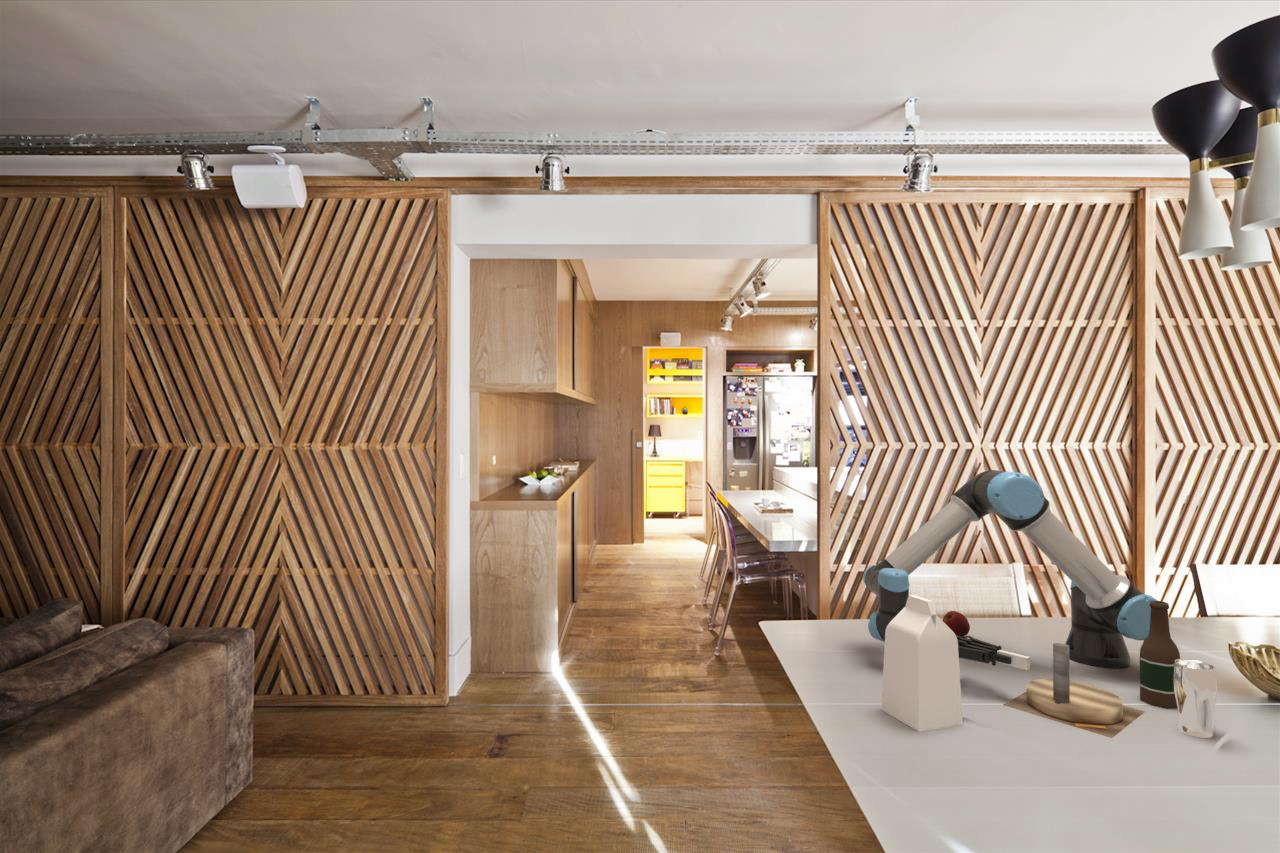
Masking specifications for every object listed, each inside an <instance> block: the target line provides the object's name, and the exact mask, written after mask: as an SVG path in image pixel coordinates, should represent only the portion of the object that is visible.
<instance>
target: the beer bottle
mask: <svg viewBox="0 0 1280 853" xmlns="http://www.w3.org/2000/svg"><path fill="white" fill-rule="evenodd" d="M1149 606H1150V607H1151V616H1150V630H1149V635H1148V636H1147V638H1146V639H1145V640H1143V642H1142V645H1141V646H1140V649H1139V699H1140V701H1141V702H1144V704H1147V705H1149V706H1153V707H1156V708H1161V709H1162V708H1163V709H1167V710H1174V709H1177V710H1178V708H1177V704H1176V699H1175V694H1174V688H1173V670H1174V660H1176V659H1181V655H1180V654H1181V653H1180V650H1179V648H1178V646H1177V644H1176V643H1175V642H1174V640H1173V639H1172V637H1171V632H1170V620H1169V609H1170V606H1169V602H1165V601H1162V600H1158V601H1151V602H1150V605H1149Z"/></svg>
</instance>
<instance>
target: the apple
mask: <svg viewBox="0 0 1280 853" xmlns="http://www.w3.org/2000/svg"><path fill="white" fill-rule="evenodd" d="M941 620H942V621H943V622H944V623H945V624H946V625H947V626H948V627H949V628H950V629H951V630H952V631H953V632H954V633H955V635H958V636H961V637H962V638H965V637H966V636H968V634H969V633H970V629H971V625H970V623H969V620H968V619H967V618H966V616H964V614H963V613H961V612H959V611H956V610H950V611H948V612H946V613H945V614H944V616H943V618H942V619H941Z"/></svg>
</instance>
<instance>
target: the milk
mask: <svg viewBox="0 0 1280 853" xmlns="http://www.w3.org/2000/svg"><path fill="white" fill-rule="evenodd" d="M936 612H937V611H936V609H935V605H934V602H933V601H932V600H930V599H927V598H924V597H921V596H918V595H915V594H911V595H910V594H909V596H908V599H907V602H906V607H904V608H903V609H902V610H901V611H900V612H899V613H898V614H897V615H896V616H895V617H894V618H893V620H892V621H891V622H890V623H889V624H888V626H887V628H886V631H885V642H884V649H883V651H884V652H883V668H882V669H883V670H882V686H881V687H882V688H881V707H880V709H881V710H882V711H883V712H885V713H887V714H888V715H889V716H891V717H893V718H895V719H897V720H898V721H900V722H902V723H903V724H906V725H907V726H908V727H910V728H911V729H914V730H915V731H916V732H925V731H932V730H938V729H944V727H945V728H950V726H951V727H955V726H956V725H957V726H963V725H964V723H963V722H964V720H963V707H962V705H963V704H962V690H961V688H962V686H961V673H960V672H961V671H960V658H959V655H958V641H957V637H956V635H955V633H954V632H953V631H952V630H951V629H950V628H949V627H948V626H947V625H946V624H945V623H944V622H943V621H942V620H943V619H941V618H940V617H939V616H938V615H937V613H936Z"/></svg>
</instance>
